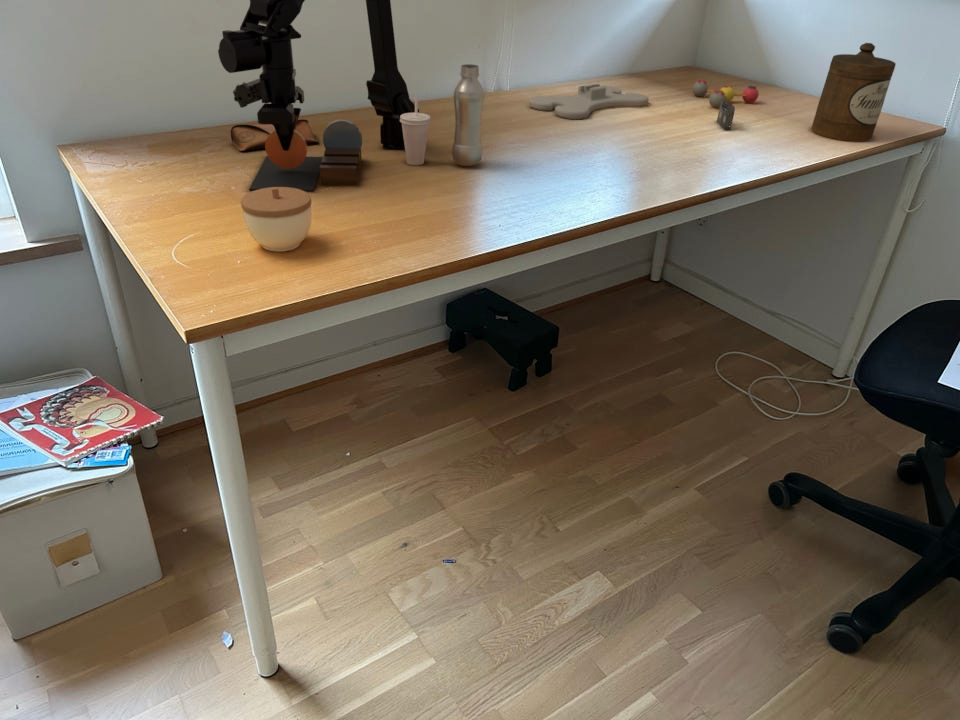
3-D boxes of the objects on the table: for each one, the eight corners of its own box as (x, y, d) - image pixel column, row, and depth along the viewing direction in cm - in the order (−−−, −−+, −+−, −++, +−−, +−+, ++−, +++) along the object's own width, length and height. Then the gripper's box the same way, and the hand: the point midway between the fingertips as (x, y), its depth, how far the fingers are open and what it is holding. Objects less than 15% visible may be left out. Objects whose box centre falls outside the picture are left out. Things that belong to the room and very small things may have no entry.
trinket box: (233, 250, 116) (224, 193, 111) (272, 226, 125) (265, 172, 120) (291, 263, 113) (284, 205, 108) (327, 237, 122) (323, 183, 117)
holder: (654, 104, 209) (657, 86, 206) (571, 121, 190) (574, 101, 187) (604, 90, 221) (606, 73, 218) (521, 105, 202) (523, 86, 199)
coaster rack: (328, 159, 156) (327, 143, 154) (361, 160, 157) (360, 143, 155) (320, 185, 143) (319, 167, 141) (357, 185, 143) (356, 168, 142)
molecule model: (689, 94, 222) (692, 78, 219) (743, 95, 224) (746, 79, 221) (711, 109, 207) (714, 92, 204) (769, 110, 209) (773, 93, 206)
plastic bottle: (486, 162, 159) (490, 64, 148) (475, 171, 154) (479, 71, 143) (458, 158, 161) (460, 61, 150) (447, 167, 155) (448, 67, 144)
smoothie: (407, 168, 153) (406, 99, 146) (395, 159, 158) (394, 92, 150) (435, 165, 156) (435, 97, 148) (423, 156, 161) (423, 90, 153)
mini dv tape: (730, 130, 189) (735, 106, 186) (724, 130, 189) (729, 106, 186) (722, 122, 196) (727, 98, 193) (716, 121, 196) (721, 98, 193)
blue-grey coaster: (324, 157, 154) (321, 119, 150) (363, 158, 155) (361, 119, 150) (324, 159, 153) (321, 120, 149) (362, 160, 154) (361, 121, 149)
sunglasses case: (240, 150, 157) (233, 119, 156) (235, 159, 163) (228, 129, 162) (321, 141, 165) (314, 112, 164) (313, 150, 171) (307, 121, 170)
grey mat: (323, 158, 156) (323, 156, 156) (313, 191, 140) (313, 189, 140) (266, 157, 155) (266, 156, 155) (249, 190, 139) (248, 188, 138)
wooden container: (855, 145, 182) (885, 50, 170) (800, 131, 191) (825, 40, 180) (881, 135, 191) (912, 45, 179) (827, 122, 200) (853, 35, 188)
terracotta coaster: (268, 166, 147) (263, 126, 143) (309, 167, 148) (305, 127, 144) (267, 168, 146) (262, 128, 142) (308, 169, 147) (304, 129, 142)
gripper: (243, 54, 144) (253, 135, 152) (222, 75, 128) (235, 163, 136) (300, 56, 145) (307, 135, 153) (287, 77, 129) (296, 164, 137)
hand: (286, 149), depth 145 cm, fingers closed on terracotta coaster, 1 cm apart
